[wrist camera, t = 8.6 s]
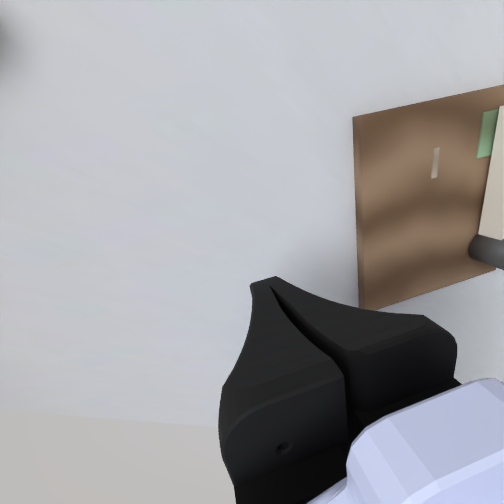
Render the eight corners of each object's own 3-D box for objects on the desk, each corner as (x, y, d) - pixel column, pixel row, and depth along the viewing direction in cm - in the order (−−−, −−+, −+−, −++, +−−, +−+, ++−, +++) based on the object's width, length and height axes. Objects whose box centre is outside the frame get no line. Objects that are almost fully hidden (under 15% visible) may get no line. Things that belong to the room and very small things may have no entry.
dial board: (485, 266, 29) (496, 270, 28) (359, 308, 26) (366, 314, 25) (521, 81, 22) (537, 77, 21) (352, 117, 19) (361, 115, 18)
